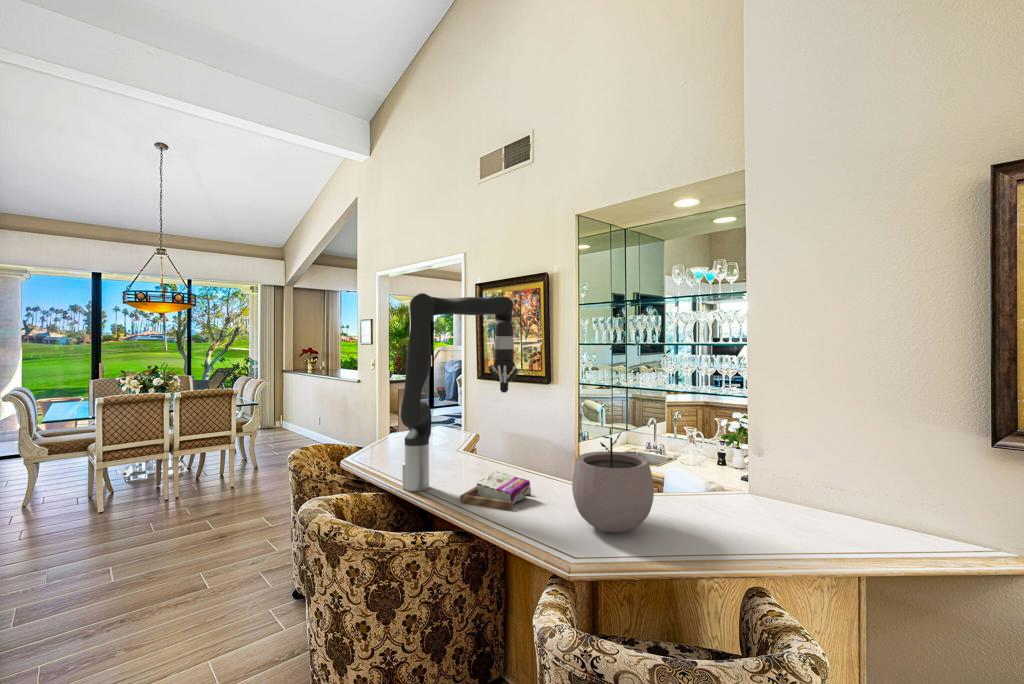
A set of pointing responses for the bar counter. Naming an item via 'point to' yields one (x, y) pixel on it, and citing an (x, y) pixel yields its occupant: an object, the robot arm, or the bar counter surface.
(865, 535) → the bar counter surface
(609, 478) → the plant pot
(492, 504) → the keeper frame
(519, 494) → the candy bar box
